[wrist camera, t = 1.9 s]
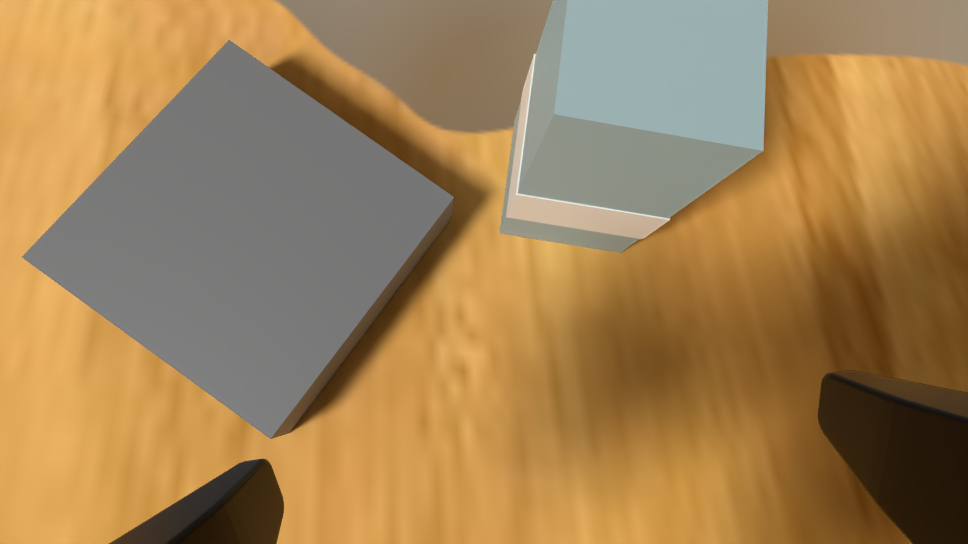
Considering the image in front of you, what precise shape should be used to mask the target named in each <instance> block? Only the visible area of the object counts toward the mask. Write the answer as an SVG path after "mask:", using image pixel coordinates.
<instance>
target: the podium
mask: <svg viewBox="0 0 968 544" xmlns="http://www.w3.org/2000/svg"><path fill="white" fill-rule="evenodd" d="M453 203H454V197H453V196H452V195H450V194H449V193H447V192H446V191H445V190H443V189H442V188H440V187H439V186H437V185H436V184H435V183H433V182H432V181H430V180H429V179H427V178H426V177H425V176H423V175H422V174H420V173H419V172H417V171H416V170H415V169H413V168H412V167H410V166H409V165H407V164H406V163H405V162H403V161H402V160H400V159H399V158H397V157H396V156H395V155H393V154H392V153H390V152H389V151H387V150H386V149H385V148H383V147H382V146H380V145H379V144H377V143H376V142H375V141H373V140H372V139H370V138H369V137H367V136H366V135H364V134H363V133H362V132H360V131H359V130H357V129H356V128H354V127H353V126H352V125H350V124H349V123H347V122H346V121H344V120H343V119H342V118H340V117H339V116H337V115H336V114H334V113H333V112H332V111H330V110H329V109H327V108H326V107H324V106H323V105H322V104H320V103H319V102H317V101H316V100H314V99H313V98H312V97H310V96H309V95H307V94H306V93H304V92H303V91H302V90H300V89H299V88H297V87H296V86H294V85H293V84H292V83H290V82H289V81H287V80H286V79H284V78H283V77H281V76H280V75H279V74H277V73H276V72H274V71H273V70H271V69H270V68H269V67H267V66H266V65H264V64H263V63H261V62H260V61H259V60H257V59H256V58H254V57H253V56H251V55H250V54H249V53H247V52H246V51H244V50H243V49H241V48H240V47H239V46H237V45H236V44H234V43H233V42H231V41H230V40H229V41H228V42H227V43H226V44H225V45H224V46H223V47H222V48H221V49H220V50H219V51H218V52H217V53H216V54H215V55H214V56H213V57H212V58H211V60H210V61H209V62H208V63H207V64H206V65H205V66H204V67H203V68H202V69H201V70H200V71H199V72H198V73H197V74H196V75H195V76H194V77H193V78H192V79H191V80H190V82H189V83H188V84H187V85H186V86H185V87H184V88H183V89H182V90H181V91H180V92H179V93H178V94H177V95H176V96H175V97H174V98H173V99H172V100H171V101H170V102H169V104H168V105H167V106H166V107H165V108H164V109H163V110H162V111H161V112H160V113H159V114H158V115H157V116H156V117H155V118H154V119H153V120H152V121H151V122H150V123H149V124H148V125H147V127H146V128H145V129H144V130H143V131H142V132H141V133H140V134H139V135H138V136H137V137H136V138H135V139H134V140H133V141H132V142H131V143H130V144H129V145H128V146H127V147H126V149H125V150H124V151H123V152H122V153H121V154H120V155H119V156H118V157H117V158H116V159H115V160H114V161H113V162H112V163H111V164H110V165H109V166H108V167H107V168H106V169H105V171H104V172H103V173H102V174H101V175H100V176H99V177H98V178H97V179H96V180H95V181H94V182H93V183H92V184H91V185H90V186H89V187H88V188H87V189H86V190H85V191H84V192H83V194H82V195H81V196H80V197H79V198H78V199H77V200H76V201H75V202H74V203H73V204H72V205H71V206H70V207H69V208H68V209H67V210H66V211H65V212H64V213H63V214H62V216H61V217H60V218H59V219H58V220H57V221H56V222H55V223H54V224H53V225H52V226H51V227H50V228H49V229H48V230H47V231H46V232H45V233H44V234H43V235H42V236H41V237H40V239H39V240H38V241H37V242H36V243H35V244H34V245H33V246H32V247H31V248H30V249H29V250H28V251H27V252H26V253H25V254H24V255H23V256H22V258H24V259H25V260H26V261H28V262H29V263H31V264H32V265H33V266H35V267H36V268H37V269H39V270H40V271H42V272H43V273H44V274H46V275H47V276H48V277H50V278H51V279H52V280H54V281H55V282H57V283H58V284H59V285H61V286H62V287H63V288H65V289H66V290H68V291H69V292H70V293H72V294H73V295H74V296H76V297H77V298H79V299H80V300H81V301H83V302H84V303H85V304H87V305H88V306H89V307H91V308H92V309H94V310H95V311H96V312H98V313H99V314H100V315H102V316H103V317H105V318H106V319H107V320H109V321H110V322H111V323H113V324H114V325H115V326H117V327H118V328H120V329H121V330H122V331H124V332H125V333H126V334H128V335H129V336H131V337H132V338H133V339H135V340H136V341H137V342H139V343H140V344H141V345H143V346H144V347H146V348H147V349H148V350H150V351H151V352H152V353H154V354H155V355H157V356H158V357H159V358H161V359H162V360H163V361H165V362H166V363H167V364H169V365H170V366H172V367H173V368H174V369H176V370H177V371H178V372H180V373H181V374H183V375H184V376H185V377H187V378H188V379H189V380H191V381H192V382H193V383H195V384H196V385H198V386H199V387H200V388H202V389H203V390H204V391H206V392H207V393H209V394H210V395H211V396H213V397H214V398H215V399H217V400H218V401H219V402H221V403H222V404H224V405H225V406H226V407H228V408H229V409H230V410H232V411H233V412H235V413H236V414H237V415H239V416H240V417H241V418H243V419H244V420H246V421H247V422H248V423H250V424H251V425H252V426H254V427H255V428H256V429H258V430H259V431H261V432H262V433H263V434H265V435H266V436H267V437H269V438H270V439H272V438H275V437H278V436H281V435H285V434H288V433H290V432H291V430H292V429H293V428H294V426H295V425H296V424H297V422H298V421H299V420H300V418H301V417H302V416H303V414H304V413H305V412H306V411H307V409H308V408H309V407H310V405H311V404H312V403H313V401H314V400H315V399H316V397H317V396H318V395H319V393H320V392H321V391H322V389H323V388H324V387H325V385H326V384H327V383H328V381H329V380H330V379H331V377H332V376H333V375H334V373H335V372H336V371H337V369H338V368H339V367H340V365H341V364H342V363H343V361H344V360H345V359H346V357H347V356H348V355H349V353H350V352H351V351H352V349H353V348H354V347H355V345H356V344H357V343H358V341H359V340H360V339H361V338H362V336H363V335H364V334H365V332H366V331H367V330H368V328H369V327H370V326H371V324H372V323H373V322H374V320H375V319H376V318H377V316H378V315H379V314H380V312H381V311H382V310H383V308H384V307H385V306H386V304H387V303H388V302H389V300H390V299H391V298H392V296H393V295H394V294H395V292H396V291H397V290H398V288H399V287H400V286H401V284H402V283H403V282H404V280H405V279H406V278H407V276H408V275H409V274H410V272H411V271H412V270H413V268H414V267H415V266H416V264H417V263H418V262H419V261H420V259H421V258H422V257H423V255H424V254H425V253H426V251H427V250H428V249H429V247H430V246H431V245H432V243H433V242H434V241H435V239H436V238H437V237H438V235H439V234H440V233H441V231H442V230H443V229H444V227H445V226H446V225H447V223H448V222H449V221H450V219H451V217H452V210H453Z"/></svg>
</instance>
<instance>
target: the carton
mask: <svg viewBox="0 0 968 544" xmlns="http://www.w3.org/2000/svg"><path fill="white" fill-rule="evenodd" d="M767 14H768V0H553V3H552V6H551V9H550V12H549V15H548V18H547V22H546V25H545V28H544V31H543V34H542V37H541V41H540V43H539V47H538V49H537V53H536V54H534V57H533V60H532V63H531V66H530V69H529V72H528V75H527V78H526V82H525V85H524V88H523V92H522V99H521V102H520V105H519V108H518V112H517V115H516V118H515V122H514V129H513V137H512V144H511V151H510V159H509V166H508V173H507V181H506V188H505V196H504V203H503V210H502V218H501V225H500V234H506V235H512V236H518V237H525V238H531V239H537V240H543V241H550V242H556V243H562V244H569V245H575V246H581V247H587V248H594V249H600V250H606V251H612V252H619V253H621V252H622V251H624V250H625V249H626V248H628V247H629V246H631V245H632V244H633V243H635V242H636V241H638V240H639V239H644V238H645V237H647V236H648V235H649V234H651V233H652V232H654V231H655V230H657V229H658V228H659V227H661V226H662V225H664V224H665V223H667V222H668V221H669V220H670V217H671V216H673V215H674V214H676V213H677V212H678V211H680V210H681V209H683V208H684V207H685V206H687V205H688V204H690V203H691V202H692V201H694V200H695V199H697V198H698V197H699V196H701V195H702V194H704V193H705V192H706V191H708V190H709V189H711V188H712V187H713V186H715V185H716V184H718V183H719V182H721V181H722V180H723V179H725V178H726V177H728V176H729V175H730V174H732V173H733V172H735V171H736V170H737V169H739V168H740V167H742V166H743V165H744V164H746V163H747V162H749V161H750V160H751V159H753V158H754V157H756V156H757V155H758V154H760V153H761V152H763V151H764V118H765V84H766V50H767V16H768V15H767Z"/></svg>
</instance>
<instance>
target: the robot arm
mask: <svg viewBox="0 0 968 544" xmlns="http://www.w3.org/2000/svg"><path fill="white" fill-rule="evenodd" d="M818 421H819V425H820V427H821V429H822V431H823V433H824V435H825V436H826V437H827V439H828V440H829V441H830V443H831V444H832V445H833V447H834V448H835V449H836V451H837V452H838V453H839V455H840V456H841V457H842V459H843V460H844V461H845V463H846V464H847V465H848V467H849V468H850V469H851V471H852V472H853V473H854V475H855V476H856V477H857V479H858V480H859V481H860V483H861V484H862V485H863V487H864V488H865V489H866V491H867V492H868V493H869V495H870V496H871V497H872V498H873V500H874V501H875V502H876V503H877V505H878V506H879V507H880V508H881V509H882V510H883V511H884V513H885V514H886V515H887V516H888V517H889V518H890V519H891V520H892V522H893V523H894V524H895V525H896V526H897V527H898V528H899V529H900V530H901V531H902V532H903V534H904V535H905V536H906V537H907V538H908V539H909V540H910V541H911V542H912V543H913V544H968V393H966V392H961V391H956V390H951V389H946V388H941V387H936V386H931V385H926V384H921V383H915V382H910V381H905V380H900V379H895V378H890V377H885V376H880V375H875V374H870V373H865V372H860V371H854V370H845V371H838V372H832V373H827V374H826V375H825V376H824V377H823V379H822V382H821V391H820V399H819V408H818ZM283 513H284V501H283V496H282V493H281V490H280V488H279V485H278V482H277V480H276V477H275V474H274V471H273V469H272V466H271V464H270V463H269V461H268V460H266V459H257V460H251V461H244V462H242V463H239V464H238V465H236V466H234V467H233V468H231V469H229V470H228V471H226V472H225V473H223V474H221V475H220V476H218V477H216V478H215V479H213V480H212V481H210V482H208V483H207V484H205V485H203V486H202V487H200V488H199V489H197V490H195V491H194V492H192V493H191V494H189V495H187V496H186V497H184V498H182V499H181V500H179V501H178V502H176V503H174V504H173V505H171V506H169V507H168V508H166V509H165V510H163V511H161V512H160V513H158V514H156V515H155V516H153V517H152V518H150V519H148V520H147V521H145V522H144V523H142V524H140V525H139V526H137V527H135V528H134V529H132V530H131V531H129V532H127V533H126V534H124V535H122V536H121V537H119V538H118V539H116V540H114V541H113V542H111V543H109V544H276V543H277V539H278V535H279V530H280V526H281V522H282V518H283Z"/></svg>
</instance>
